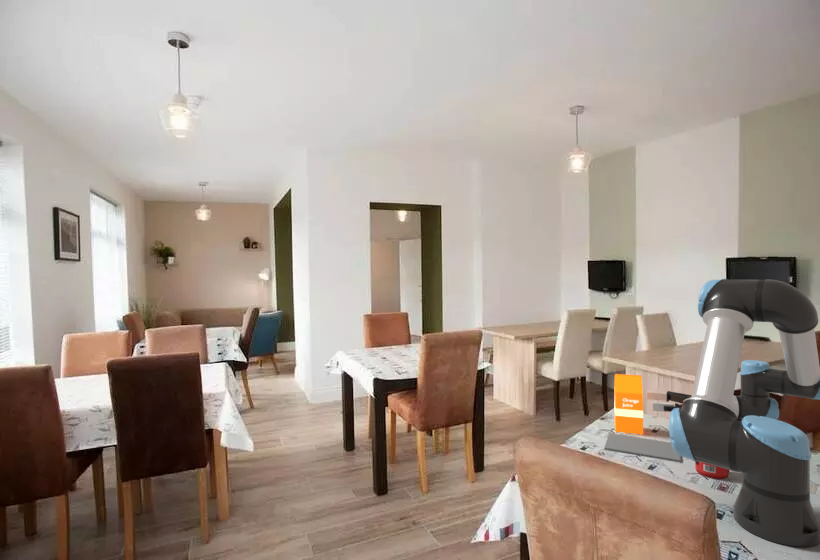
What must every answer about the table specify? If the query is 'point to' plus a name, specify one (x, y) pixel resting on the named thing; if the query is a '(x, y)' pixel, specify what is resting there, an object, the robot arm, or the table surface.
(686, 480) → the table surface
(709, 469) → the canned food
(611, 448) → the mat
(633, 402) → the orange juice
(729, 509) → the table surface
